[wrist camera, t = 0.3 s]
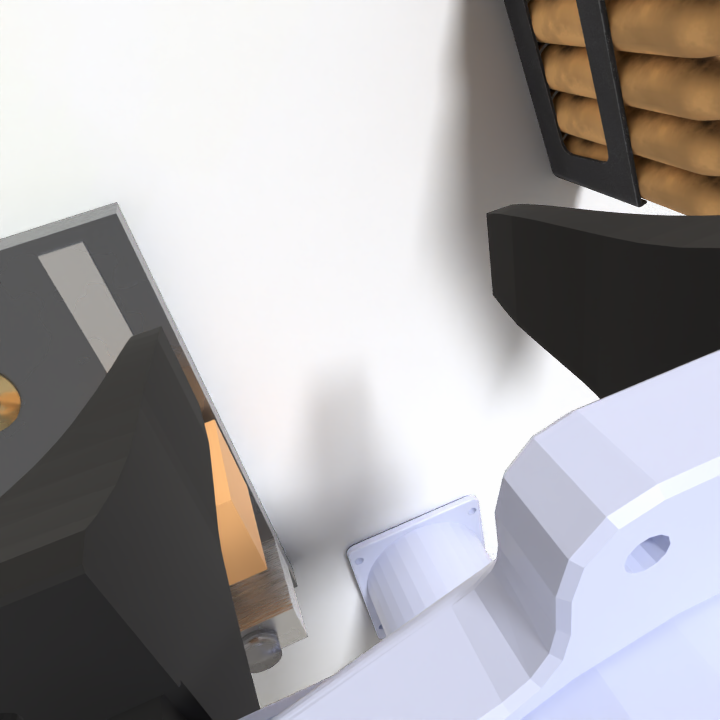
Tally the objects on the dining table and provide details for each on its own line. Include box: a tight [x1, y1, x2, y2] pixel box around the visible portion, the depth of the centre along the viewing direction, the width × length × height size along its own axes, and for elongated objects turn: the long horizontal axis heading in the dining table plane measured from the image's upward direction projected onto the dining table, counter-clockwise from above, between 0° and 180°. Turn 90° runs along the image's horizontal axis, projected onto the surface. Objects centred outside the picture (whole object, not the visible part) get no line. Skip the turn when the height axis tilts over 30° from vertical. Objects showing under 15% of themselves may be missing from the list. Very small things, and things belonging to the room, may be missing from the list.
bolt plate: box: [0, 202, 308, 673], centre depth 22 cm, size 21×9×6 cm, turn 13°
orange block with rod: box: [204, 420, 267, 586], centre depth 21 cm, size 4×8×4 cm, turn 103°
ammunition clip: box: [504, 0, 720, 216], centre depth 16 cm, size 11×2×12 cm, turn 28°
